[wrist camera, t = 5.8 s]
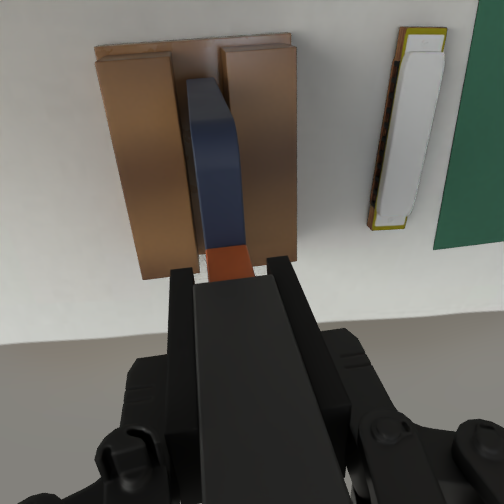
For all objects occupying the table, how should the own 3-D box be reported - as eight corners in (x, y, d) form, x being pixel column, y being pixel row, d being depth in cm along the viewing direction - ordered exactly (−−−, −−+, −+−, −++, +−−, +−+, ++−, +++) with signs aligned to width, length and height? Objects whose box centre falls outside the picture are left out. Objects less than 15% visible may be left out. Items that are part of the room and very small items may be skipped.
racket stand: (289, 236, 35) (303, 266, 31) (141, 254, 34) (136, 287, 30) (287, 32, 27) (305, 36, 23) (97, 45, 26) (81, 51, 22)
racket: (237, 235, 31) (402, 892, 8) (196, 239, 31) (244, 937, 8) (224, 72, 25) (648, 705, 2) (173, 76, 25) (102, 841, 2)
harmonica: (400, 222, 36) (411, 233, 34) (365, 224, 35) (375, 235, 34) (441, 27, 29) (457, 28, 27) (397, 26, 28) (412, 27, 26)
